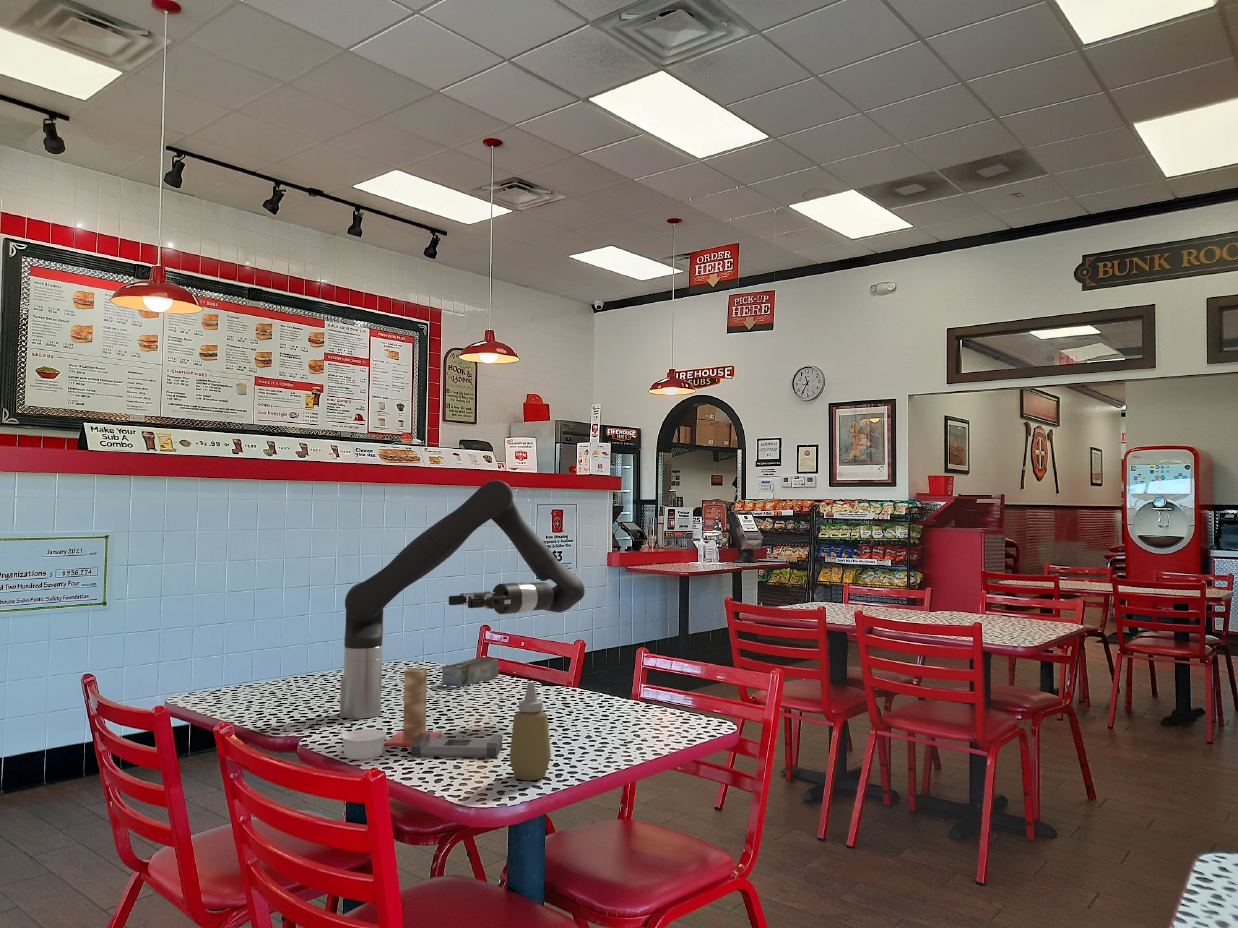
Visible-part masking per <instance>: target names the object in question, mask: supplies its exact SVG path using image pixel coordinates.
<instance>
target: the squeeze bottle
mask: <svg viewBox="0 0 1238 928" xmlns="http://www.w3.org/2000/svg"><path fill="white" fill-rule="evenodd" d="M535 685H536V684H535V682H533V681H529V682H527V686H526V691H525V694H524V698H523V699H521V700H519V702H518V711H517V712H516V713H515V714H514V715H513V721H512V730H511V732H512V733H511V739H510V749H509V763H510V764H511V769H512V772H513V775H514V777H515V778H516V779H518V780H523V781H535V780H536V781H537V780H541V779H543V778H545V776H546V773H547V770H548V767H549V763H550V760H551V757H552V753H551V751H552V750H551V742H550V741H551V740H550V739H551V738H550V731H549V730H550V729H549V720H548V719H549V718H548V714H547V713H546V712H545V711H543V709H544V705H543V704H544V702H543V700H542V699H538V696H537V695H538V694H537V691H536V686H535Z"/></svg>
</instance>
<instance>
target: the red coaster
mask: <svg viewBox="0 0 1238 928" xmlns="http://www.w3.org/2000/svg"><path fill="white" fill-rule="evenodd" d="M442 732H443V731H426V733H430V738H440V737H441V736H442ZM439 736H440V737H439ZM411 741H413V740H403V731H398V732H396V733H395V734H394V735H393V736H392V737H391V738H389V739H388V740H387V741H385V742H384V747H411Z"/></svg>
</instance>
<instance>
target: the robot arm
mask: <svg viewBox="0 0 1238 928" xmlns="http://www.w3.org/2000/svg"><path fill="white" fill-rule="evenodd" d="M511 488H512V487H511V486H510V485H509V484H508V483H506V482H505V481H503V480H500V479H493V480H489V481H487V482H485V483H484V484H482V485H481V486H480V487H479V488H478V489H477V490H476V491H475V492H474V493H473V494H472V495H471V496H470V497H469V498H468V499H466V500H465V501H464V502H463V503H462V504H461V505H460V506H459V507H458V508H456V509H454V510H453V511H452V512H451V513H449V514H447V515H446V516H444V517H443V518H441V519H440V520H438V521H437V522H436V523H434V524H433V525H431V526H430V527H429V528H427V529H426V530H425V531H423V532H422V533H420V535H418V536H417V537H416V538H414V539H413V540H412V541H410V542H409V544H407V545H406V546H405V547H404V548H403V549H402V550H401V551H400V552H399V553H398V554H397V555H396V556H395V557H394V558H393V559H392V560H391V561H390V562H389V563H388V564H386V566H385V567H383V568H382V569H381V570H380V571H378V572H376V573H375V574H373V575H372V576H371V577H369V578H367V579H366V580H364V581H361V582H358V583H356V584H354V585H353V586H352V587H351V588H350V589H349V591H348V592H347V594H346V596H345V598H344V607H345V628H344V646H343V647H344V648H343V649H344V650H343V651H344V653H343V654H344V655H343V676H342V677H341V678H340V691H339V692H340V693H339V697H340V698H339V717H340V718H341V717H342V718H347V719H368V718H369V719H370V718H373V717H377V716H380V715H381V714H382V677H383V676H382V674H383V673H382V672H383V669H382V668H383V638H384V637H383V636H384V635H383V634H384V607H386V606H387V605H388V604H389V603H390V602H391V601H392V600H394V598H395V597H396V596H397V595H399V594H400V593H401V592H403V590H405V589H406V588H407V587H409V586H411V585H412V584H414V583H416V582H417V581H419V580H420V579H421V578H423V577H425V576H427V574H428V575H429V573H431V572H432V571H433V570H435V569H436V568H438V567H439V566H440V565H441V564H442V563H443V562H445V561H446V560H448V559H449V558H450V557H451V556H452V555H453V554H455V552H456V551H457V550H458V549H459V548H460V547H462V545H463V544H464V543H465V542H466V540H467V539H468V538H469V537H470V536H471V535H472V533H474V532H475V531H476V530H477V529H478V528H479V527H481V526H483V525H484V524H485V523H487V522H488V521H490V520H492V522H494V523H495V524H496V525H497V526H498V527H499V528H500V530H501V531H503V533H504V534H505V536H507V537H508V539H509V540H510V541H511V543H512V544H513V545H514V547H515V548H516V550H517V551H518V553H519V554H520V555H521V557H522V558H523V561H524V562H525V563H526V564H527V566H528V567H529V569H530V570H531V571H532V573H533V574H534V575H535V576H536V578H537V579H538V580H539V581H540V582H538V581H537V582H507V583H498V584H497V585H495V586H494V587H493V590H492V591H489V590H485V591H482V592H481V591H479V592H478V591H477V592H476V591H474V592H469V593H467V592H466V593H463V592H462V593H460V594H458V595H450V596H449V597H448V605H449V606H460V605H463V606H467V608H468V609H479V608H483V609H486V610H490V609H491V610H492V609H494V611H495V612H496V613H497V614H499V615H509V614H522V613H526V612H533V611H543V610H544V611H547V612H552V613H561V612H566V611H568V610H570V609H571V608H572V607H574V605H576V604H577V603H579V602H580V601H581V600H582V599H583V598H584V596H585V586H584V584H583V582H582V581H581V578H579V577H578V576H577V575H576V574H575V573H573V572H572V571H571V570H570V569H569V568H567V567H566V566H565V565H564V564H562V563H561V562H560V561H559V560H558V558H556V556H555V555H554V553H553V552H552V550H550V548H549V547H548V545H547V544H546V543H545V542H544V540H543V539H542V538H541V537H540V536H539V535H538V534H537V533H536V531H534V530H533V529H532V528H531V527H530V525H529V524H528V523H527V522H526V519H524V517H523V516H522V515H521V513H520V511H519V510H518V507H517V505H516V503H515V502H514V495H513V491H512V489H511ZM548 580H550V581H551V582H553V583H554V584H556V585H555V586H551V584H549V583H548V582H546V581H548Z"/></svg>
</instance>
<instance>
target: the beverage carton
mask: <svg viewBox="0 0 1238 928" xmlns="http://www.w3.org/2000/svg"><path fill="white" fill-rule="evenodd" d="M441 669H442V670H441V671H442V672H441V673H442V675H441V678H442V679H441V683H442V686H443V685H448V686H457V687H464V686H468V685H470V684H475V683H479V682H481V681H485V682H487V681H486V680H488V681H490V679H491V680H494V679H493V678H495V677H497V676H498V677H499V658H497V657H495V658H494V657H493V658H492V657H482V656H481V657H480V656H477V657H475V658H472V659H468V660H464V661H461V662H458V663H457V662H456V663H454V664H450V665H445V666H442V667H441ZM495 679H496V678H495ZM479 684H480V683H479ZM475 685H476V684H475ZM468 687H469V686H468Z"/></svg>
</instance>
